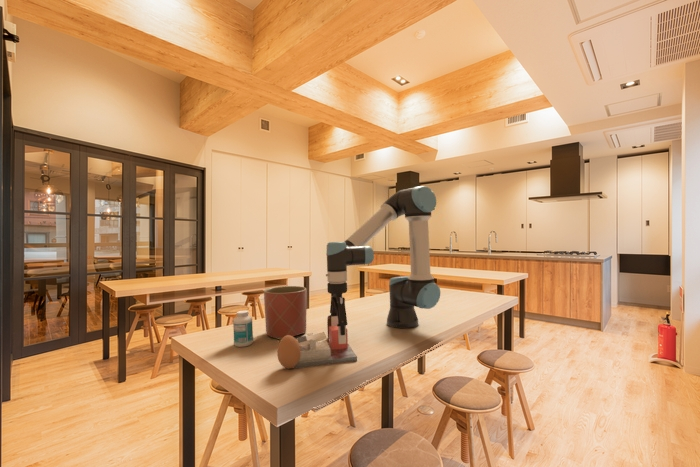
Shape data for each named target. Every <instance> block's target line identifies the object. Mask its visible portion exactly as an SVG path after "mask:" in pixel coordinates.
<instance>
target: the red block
mask: <svg viewBox="0 0 700 467" xmlns="http://www.w3.org/2000/svg"><path fill="white" fill-rule="evenodd" d="M348 341H349V340H348V328H347V327H346V343H345V344H339V341H338V326H329V339H328V344H329V345H330V347H331V349H332V350H334V349H343V348H348V345H349V343H348Z"/></svg>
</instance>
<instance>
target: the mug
mask: <svg viewBox="0 0 700 467" xmlns="http://www.w3.org/2000/svg"><path fill="white" fill-rule="evenodd" d="M336 316H337V315H336ZM326 319H327V325H326V326H327V339H328V340H329V326H331V314H329V315H328V316H327V318H326ZM338 324H339V322H338Z"/></svg>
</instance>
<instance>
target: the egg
mask: <svg viewBox="0 0 700 467" xmlns="http://www.w3.org/2000/svg"><path fill="white" fill-rule="evenodd" d="M276 353H277V354H276V355H277V361H278V362H279V363H280V365H281V366H282V368H286V369H293V367H294V366H296V365H297V363H298V361H299V359H300V355H301V351H300V346H299V344H298V342H297V338H296V337H295V336H291V335H286V336H284V337H283V338H282V339H281V340H280V341H279V344H278V346H277V352H276Z"/></svg>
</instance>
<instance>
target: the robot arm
mask: <svg viewBox="0 0 700 467" xmlns="http://www.w3.org/2000/svg"><path fill="white" fill-rule="evenodd" d="M436 207H437V197H436V194H435V192H434V190H432V188H430V187H428V186H425V185H422V186H420V185H419V186H413V187H410V188H404V189H400V190H398V191H397V192H395V193H394V194H392V196H390V197H389V198H388V199H386V200H385V201H384V202H383V203H382V204H381V205H380V209H378V210H377V211H376V212H375V213H374V214H373V215H372V216H371V217H370V218H368V220H366V221H365V222H364V223H363V224H362V225H361V226H360V227H359V228H358V229H356V231H354V232H353V233H352V234H351V235H350V236H349V237H348V238H346V239H345V240H344V241H330V242H328V243H327V244H326V268H327V269H326V270H327V272H326V274H325V277H327V280H326V281H327V285H326V286H327V293H328V294H330V310H329V313H330V315H331V326H338V341H339V344H345V343H346V328H347V326H348V319H347V317H348V316H347V311H346V309H347V308H346V298H345V297H343V294H345V293H347V292H348V283H347V281H348V270H347V269H348V268H347V267H348V266H349V267H351V266H365V265H369V264H371V263H373V261H374V257H375V256H374V255H375V253H374V249H373V248H372V247H371V246H370V245H367V244H368V243H369V242H370V241H371V240H372V239H373V238H375V236H377V235H378V234H379V233H380V232H381V231H382V230H383V229H384V228H385V227H386V226H388V225H389V224H390V223H391V221H392V222H393V221H395V220H397V219H398V218H400V217H401V216H404V218H405V219H406V220H407V221H408V237H409V240H408V241H409V256H410V257H409V259H410V274H409V275H405V276H395V277H391V278H390V279H389V285H388V288H389V289H388V290H389V310H388V314H387V317H386V325H387V326H389V327H391V328H396V329H410V328H411V329H412V328H414V327H415V328H416V327H418V325H419V318H418V316H417V311H416V309H415V307H417V308H419V309H424V310H429V309H432V308H434V307H436V306H437V304H438V302H439V301H440V298H441V289H440V288H441V287H440V286H439V285H438V283H437V284H436V283H435V277H434V276H433V275H432V274H431V259H430V258H431V256H430V253H431V252H430V237H429V233H430V231H429V220H430V219H431V217H432V212H433V211H434V210H435V209H436ZM336 315H337V316H336ZM338 322H339V324H338Z"/></svg>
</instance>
